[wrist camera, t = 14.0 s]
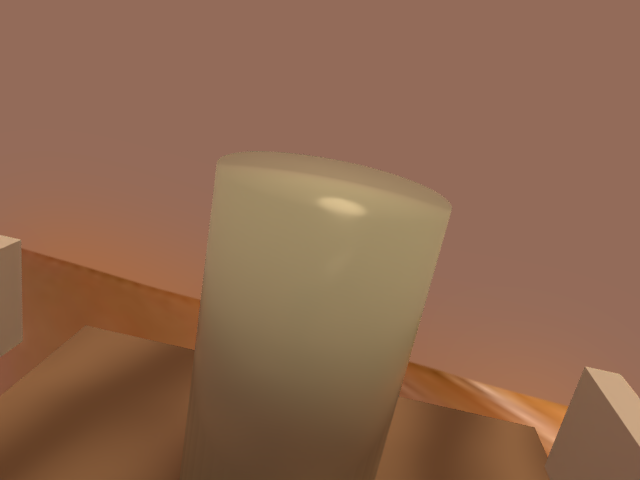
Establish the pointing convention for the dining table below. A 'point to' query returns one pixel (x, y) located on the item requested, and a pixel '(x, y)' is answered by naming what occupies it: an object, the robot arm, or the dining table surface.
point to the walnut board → (171, 414)
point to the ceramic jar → (306, 316)
